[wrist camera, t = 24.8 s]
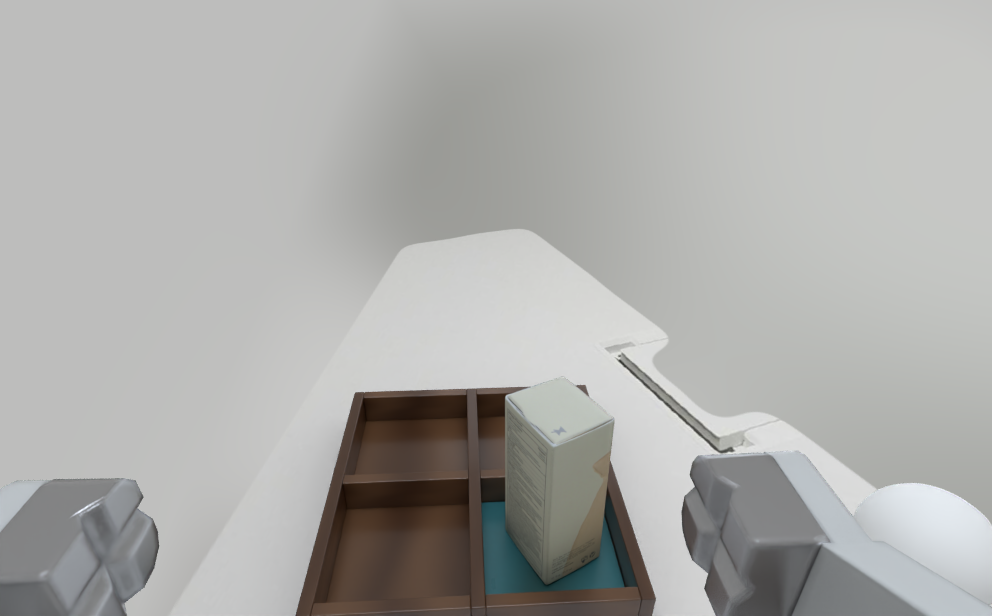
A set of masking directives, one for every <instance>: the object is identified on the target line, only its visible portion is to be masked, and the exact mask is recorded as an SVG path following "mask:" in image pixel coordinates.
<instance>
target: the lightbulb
mask: <svg viewBox="0 0 992 616" xmlns="http://www.w3.org/2000/svg"><path fill="white" fill-rule="evenodd" d="M853 517H854V518H855V519H856V521H857V522H858V523H859V525H860V526H861V527H862V529H863V530H864V531H865V532H866V534H867V535H868V536H869V538H870V539H871V540H872V541H884V542H886V543H887V544H889V545H891V546H892V547H894V548H896V549H897V550H899V551H901V552H902V553H904V554H905V555H907V556H909V557H910V558H912V559H914V560H915V561H917V562H919V563H920V564H922V565H924V566H925V567H927V568H928V569H930V570H932V571H933V572H935V573H937V574H938V575H940V576H942V577H943V578H945V579H947V580H948V581H950V582H951V583H953V584H955V585H956V586H958V587H960V588H961V589H963V590H965V591H966V592H968V593H970V594H971V595H973V596H974V597H976V598H978V599H979V600H981V601H983V602H984V603H986V604H988V605H990V604H992V525H991V523H990V522H989V520H988V519H987V518H986V517H985V516H984V515H983V514H982V513H981V512H980V511H979V510H977V509H976V508H975V507H974V506H972V505H971V504H969V503H968V502H967V501H965V500H964V499H962V498H960V497H958V496H957V495H955V494H953V493H951V492H948V491H946V490H943V489H940V488H938V487H934V486H930V485H926V484H920V483H902V484H895V485H891V486H887V487H884V488H881V489H879V490H877V491H875V492H874V493H872V494H871V495H869V496H868V497H867V498H866V499H865V500H864V501H863V502H862V503H861V504H860V505H859V506H858V508H857V510H856V512H855V514H854V516H853Z"/></svg>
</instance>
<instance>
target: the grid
mask: <svg viewBox="0 0 992 616" xmlns="http://www.w3.org/2000/svg"><path fill="white" fill-rule="evenodd" d="M575 386H576V385H575ZM576 387H578V388H579V389H580V390H581V391H583V392H584V393H585V394H586V395H587V396H589V395H588V392H587V389H586V386H585V385H577V386H576ZM526 388H529V387H508V388H477V389H467V390H466V389H448V390H416V391H384V392H365V393H364V392H356V393H355V394H354V398H353V402H352V406H351V409H350V413H349V417H348V421H347V424H346V428H345V432H344V436H343V439H342V443H341V447H340V451H339V454H338V458H337V462H336V466H335V469H334V473H333V477H332V481H331V484H330V488H329V492H328V496H327V499H326V503H325V507H324V511H323V514H322V518H321V522H320V526H319V529H318V533H317V537H316V541H315V544H314V548H313V552H312V556H311V559H310V563H309V567H308V571H307V574H306V578H305V582H304V586H303V589H302V593H301V597H300V601H299V604H298V608H297V612H296V616H652V613H653V609H654V604H655V600H656V597H655V594H654V591H653V588H652V585H651V582H650V579H649V576H648V573H647V570H646V567H645V564H644V561H643V558H642V555H641V552H640V549H639V546H638V543H637V540H636V537H635V534H634V531H633V528H632V525H631V522H630V519H629V516H628V513H627V510H626V507H625V504H624V501H623V498H622V495H621V492H620V488H619V485H618V482H617V479H616V476H615V473H614V470H613V467H612V464H611V461H610V464H609V473H608V482H607V491H606V500H605V509H604V518H603V528H602V537H601V545H600V554H599V556H598V557H597V558H595V559H594V560H592V561H591V562H589V563H587V564H585V565H584V566H582V567H580V568H579V569H577V570H575V571H573V572H571V573H570V574H568V575H566V576H564V577H562V578H560V579H558V580H556V581H554V582H552V583H550V584H548V585H546V584H545V583H544V582H543V581H542V580H541V578H540V577H539V576H538V574H537V573H536V572H535V571H534V569H533V568H532V567H531V565H530V564H529V562H528V561H527V560H526V558H525V557H524V556H523V554H522V553H521V552H520V550H519V549H518V548H517V546H516V545H515V543H514V542H513V540H512V539H511V537H510V536H509V534H508V533H507V531H506V529H505V397H506V395H508V394H511V393H514V392H518V391H520V390H523V389H526Z"/></svg>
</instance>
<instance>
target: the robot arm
mask: <svg viewBox="0 0 992 616" xmlns="http://www.w3.org/2000/svg"><path fill="white" fill-rule="evenodd" d="M690 477H691V479H692V481H693V483H694V485H695V487H694V488H693V489H692V490H691V491H690V492H689V493H688V494H687V495H685V497H684V502H683V507H682V527H683V533H684V537H685V541H686V545H687V548H688V550H689V553H690V555H691V558H692V560H693V561H694V562H695V563H696V564H697V565H699V566H700V567H701V568H702V569H704V570H705V571H706V572H707V573H708V577H707V580H706V584H705V588H704V589H705V591H706V594H707V596H708V598H709V601H710V603H711V605H712V608H713V610H714V612H715V615H716V616H992V607H991V606H989V605H988V604H986V603H984V602H983V601H981V600H979V599H978V598H976V597H974V596H973V595H971V594H970V593H968V592H966V591H965V590H963V589H961V588H960V587H958V586H956V585H955V584H953V583H951V582H950V581H948V580H947V579H945V578H943V577H942V576H940V575H938V574H937V573H935V572H933V571H932V570H930V569H928V568H927V567H925V566H924V565H922V564H920V563H919V562H917V561H915V560H914V559H912V558H910V557H909V556H907V555H905V554H904V553H902V552H901V551H899V550H897V549H896V548H894V547H892V546H891V545H889V544H887V543H886V542H884V541H872V540H871V539H870V538H869V536H868V535H867V534H866V532H865V531H864V530H863V529H862V527H861V526H860V525H859V523H858V522H857V521H856V519H855V518H854V517H853V516H852V514H851V513H850V512H849V510H848V509H847V508H846V507H845V505H844V504H843V503H842V501H841V500H840V499H839V498H838V496H837V495H836V494H835V492H834V491H833V490H832V489H831V487H830V486H829V485H828V483H827V482H826V481H825V479H824V478H823V477H822V476H821V474H820V473H819V472H818V470H817V469H816V468H815V467H814V465H813V464H812V463H811V461H810V460H809V459H808V458H807V456H806V455H804V454H802V453H801V452H799V451H780V452H764V453H741V454H721V455H700V456H697V457H696V459H695V460H694V461H693V463H692V467H691V471H690ZM142 499H143V495H142V493H141V491H140V489H139V487H138V485H137V483H136V481H135V480H130V479H125V478H121V479H120V478H115V479H54V480H34V481H33V480H32V481H31V480H28V481H15V482H13V483H11V484H9V485H6V486H4V487H2V488H1V489H0V616H127V613H126V608H125V604H124V603H125V602H126V601H128V600H129V599H130V598H131V597H133V596H134V595H135V594H136V593H138V592H139V591H140V590H141V589H143V588H144V587H145V585H146V583H147V581H148V579H149V577H150V575H151V573H152V571H153V569H154V566H155V562H156V557H157V553H158V549H159V541H158V531H157V528H156V526H155V523H154V521H153V519H152V518H151V517H149V516H148V515H146V514H144V513H143V512H142V511H140V510H139V509H137V507H138V506H139V504H140V502H141V501H142Z"/></svg>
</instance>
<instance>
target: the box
mask: <svg viewBox="0 0 992 616" xmlns="http://www.w3.org/2000/svg"><path fill="white" fill-rule="evenodd" d="M613 428H614V418H613V417H612V416H611V415H610V414H609V413H607V412H606V411H605V410H604V409H603V408H602V407H601V406H599V405H598V404H597V403H596V402H595V401H593V400H592V399H591V398H590V397H589V396H587V395H586V394H585V393H584V392H583V391H581V390H580V389H579V388H578V387H576V386H575V385H574V384H573V383H571V382H570V381H569V380H568V379H567V378H565V377H559V378H556V379H553V380H550V381H547V382H544V383H541V384H538V385H535V386H532V387H529V388H526V389H523V390H520V391H518V392H514V393H511V394H508V395H506V397H505V529H506V531H507V533H508V534H509V536H510V537H511V539H512V540H513V542H514V543H515V545H516V546H517V548H518V549H519V550H520V552H521V553H522V554H523V556H524V557H525V558H526V560H527V561H528V562H529V564H530V565H531V567H532V568H533V569H534V571H535V572H536V573H537V574H538V576H539V577H540V578H541V580H542V581H543V582H544V583H545V584H546V585H548V584H550V583H552V582H554V581H556V580H558V579H560V578H562V577H564V576H566V575H568V574H570V573H571V572H573V571H575V570H577V569H579V568H580V567H582V566H584V565H585V564H587V563H589V562H591V561H592V560H594V559H595V558H597V557H598V556H599V554H600V545H601V537H602V528H603V518H604V509H605V500H606V491H607V482H608V473H609V464H610V455H611V446H612V437H613Z"/></svg>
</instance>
